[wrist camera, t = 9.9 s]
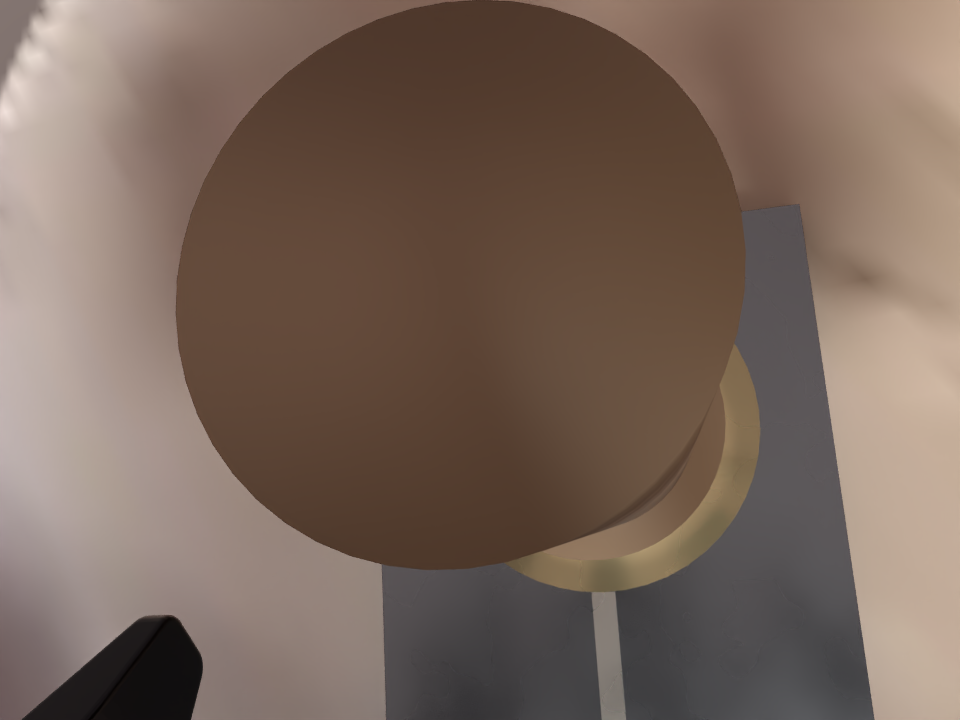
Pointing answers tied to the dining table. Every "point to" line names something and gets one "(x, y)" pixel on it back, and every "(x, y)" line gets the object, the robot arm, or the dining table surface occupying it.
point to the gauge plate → (672, 569)
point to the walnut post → (467, 292)
